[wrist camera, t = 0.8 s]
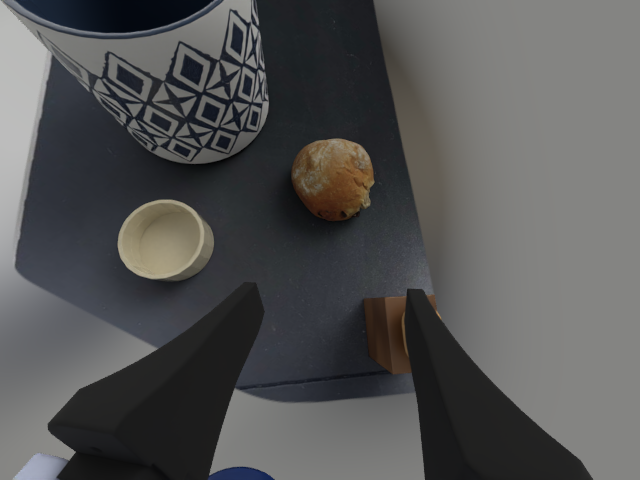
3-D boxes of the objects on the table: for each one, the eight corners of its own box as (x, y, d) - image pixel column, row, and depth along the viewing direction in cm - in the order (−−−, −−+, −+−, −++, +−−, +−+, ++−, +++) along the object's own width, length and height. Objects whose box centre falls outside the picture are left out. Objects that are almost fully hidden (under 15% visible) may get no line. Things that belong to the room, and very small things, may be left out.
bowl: (212, 279, 30) (202, 276, 26) (134, 283, 29) (113, 280, 26) (215, 209, 32) (205, 198, 28) (141, 211, 31) (122, 200, 27)
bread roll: (351, 167, 39) (352, 114, 32) (387, 213, 33) (398, 159, 26) (288, 187, 37) (276, 136, 31) (314, 240, 31) (306, 190, 25)
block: (409, 353, 30) (446, 369, 23) (368, 356, 29) (392, 374, 22) (402, 296, 31) (434, 294, 24) (363, 298, 31) (384, 297, 24)
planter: (246, 38, 38) (211, -152, 22) (287, 145, 35) (280, 10, 19) (113, 65, 35) (-38, -132, 19) (144, 184, 32) (-9, 65, 16)
